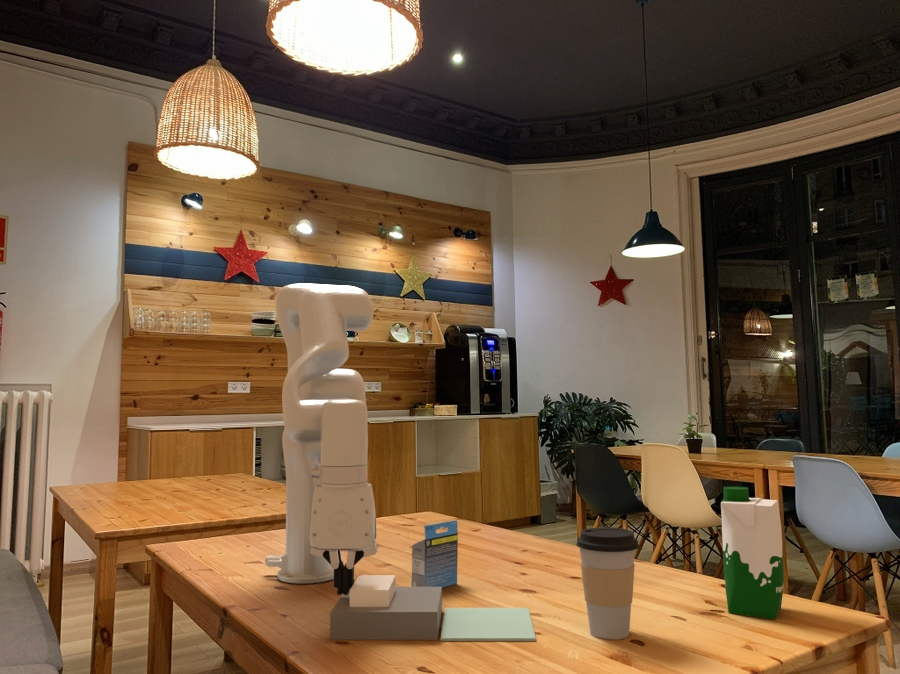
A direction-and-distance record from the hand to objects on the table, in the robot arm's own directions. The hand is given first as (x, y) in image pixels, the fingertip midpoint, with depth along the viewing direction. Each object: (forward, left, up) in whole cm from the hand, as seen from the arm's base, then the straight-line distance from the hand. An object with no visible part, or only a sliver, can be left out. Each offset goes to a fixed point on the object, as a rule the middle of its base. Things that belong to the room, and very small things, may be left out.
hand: (343, 592), depth 111 cm
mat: (+23, 0, -5) cm, 23 cm away
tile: (+5, 0, -1) cm, 5 cm away
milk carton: (+67, +7, -5) cm, 68 cm away
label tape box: (+13, +22, -5) cm, 26 cm away
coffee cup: (+41, -4, -5) cm, 42 cm away
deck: (+7, 0, -5) cm, 9 cm away
